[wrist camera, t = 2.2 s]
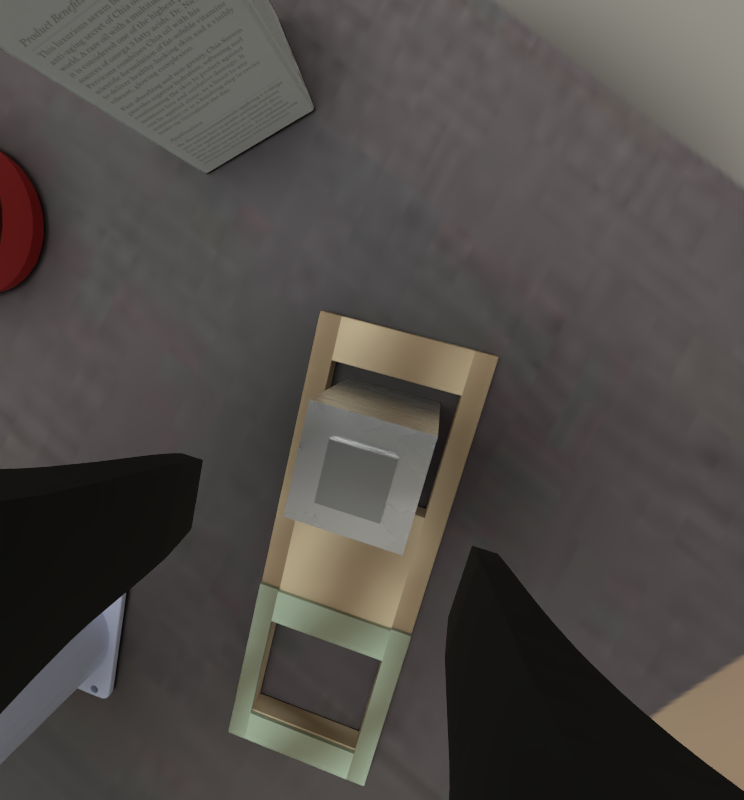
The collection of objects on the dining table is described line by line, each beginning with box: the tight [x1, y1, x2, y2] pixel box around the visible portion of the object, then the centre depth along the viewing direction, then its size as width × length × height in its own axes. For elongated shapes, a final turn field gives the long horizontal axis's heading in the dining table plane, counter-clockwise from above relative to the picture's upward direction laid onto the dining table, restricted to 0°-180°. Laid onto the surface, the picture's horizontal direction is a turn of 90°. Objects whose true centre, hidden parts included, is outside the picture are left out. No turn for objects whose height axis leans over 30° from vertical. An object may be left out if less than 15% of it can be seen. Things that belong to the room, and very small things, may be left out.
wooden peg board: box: [228, 311, 499, 786], centre depth 21 cm, size 8×24×1 cm, turn 166°
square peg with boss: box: [283, 378, 441, 555], centre depth 17 cm, size 4×4×6 cm
